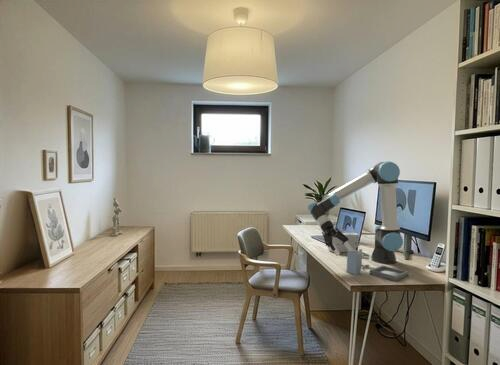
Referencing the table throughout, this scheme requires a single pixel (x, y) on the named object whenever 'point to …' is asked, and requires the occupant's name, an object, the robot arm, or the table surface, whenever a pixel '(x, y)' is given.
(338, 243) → the stereo radio cassette player
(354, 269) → the block
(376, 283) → the table surface
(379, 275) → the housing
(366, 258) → the pipe connector
